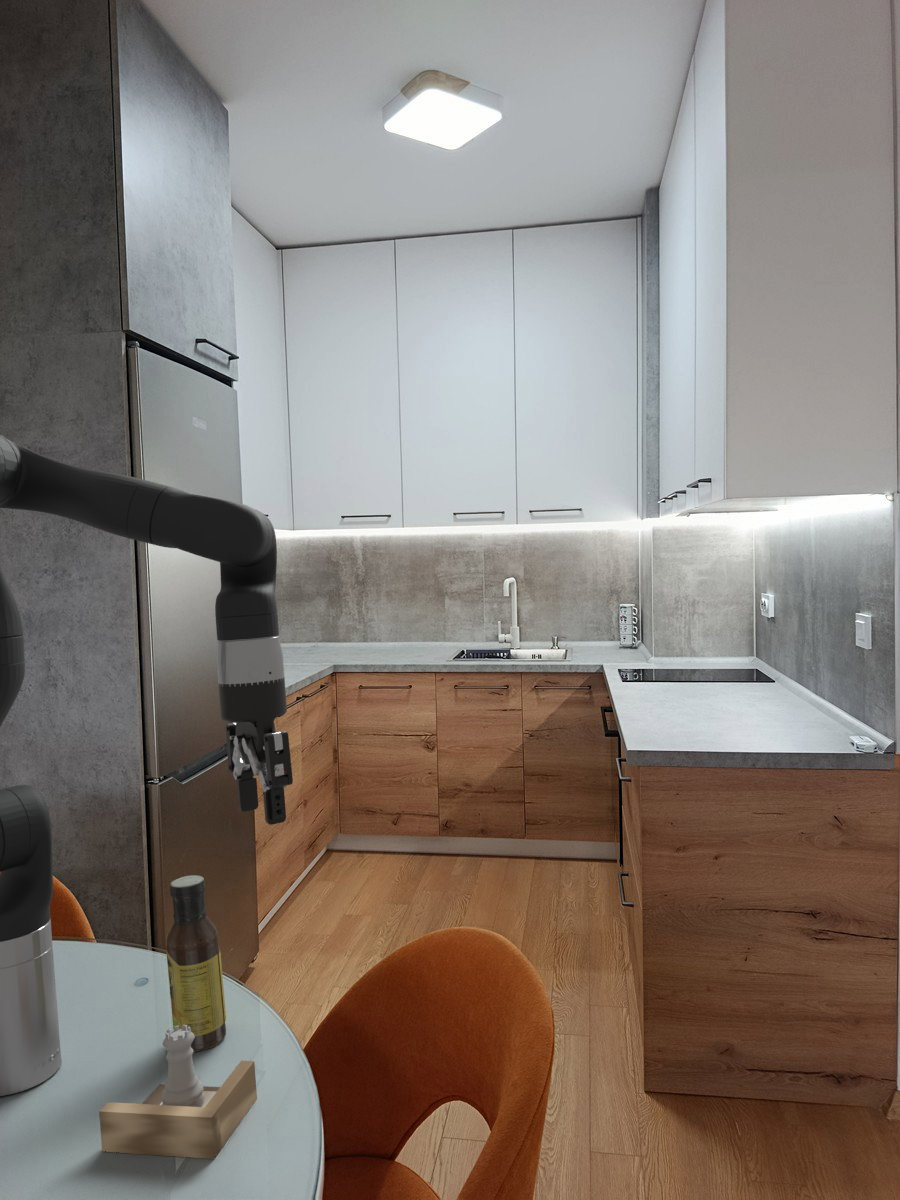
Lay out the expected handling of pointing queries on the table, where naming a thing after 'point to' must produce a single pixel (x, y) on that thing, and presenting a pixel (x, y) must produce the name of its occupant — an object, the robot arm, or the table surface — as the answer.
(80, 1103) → the table surface
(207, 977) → the sauce bottle
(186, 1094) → the rook chess piece
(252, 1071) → the wooden tray
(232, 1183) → the table surface
